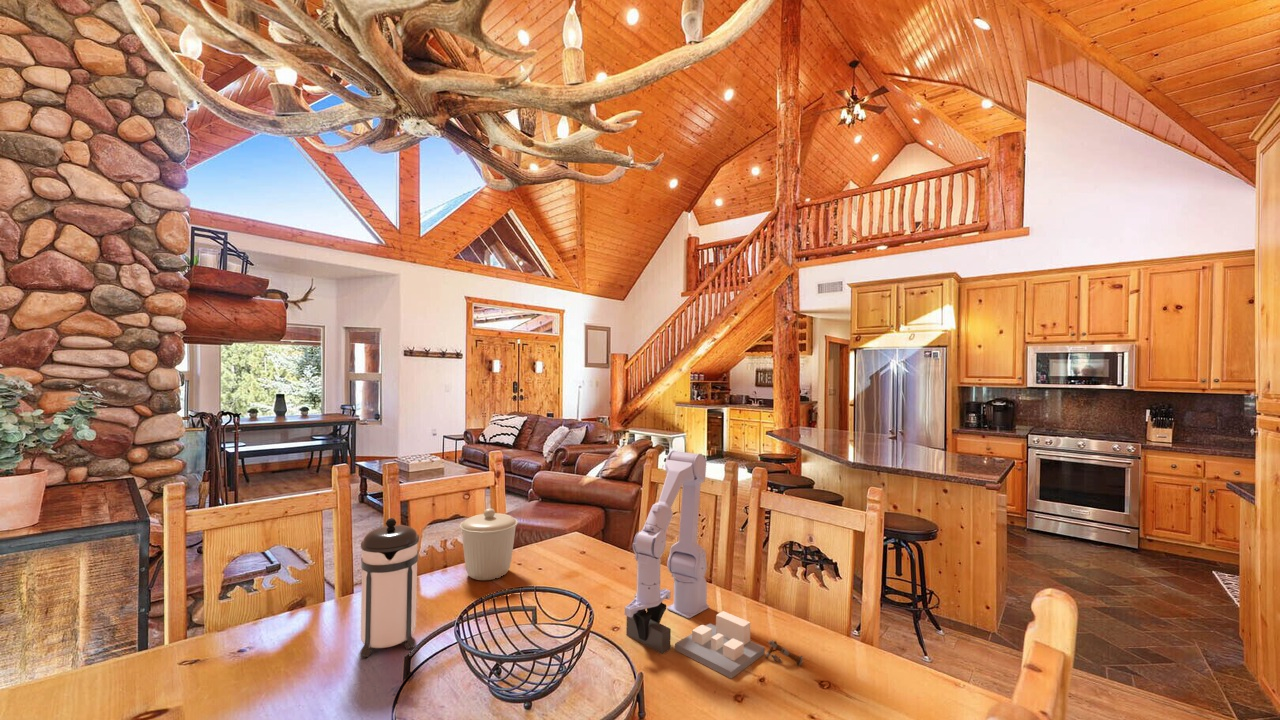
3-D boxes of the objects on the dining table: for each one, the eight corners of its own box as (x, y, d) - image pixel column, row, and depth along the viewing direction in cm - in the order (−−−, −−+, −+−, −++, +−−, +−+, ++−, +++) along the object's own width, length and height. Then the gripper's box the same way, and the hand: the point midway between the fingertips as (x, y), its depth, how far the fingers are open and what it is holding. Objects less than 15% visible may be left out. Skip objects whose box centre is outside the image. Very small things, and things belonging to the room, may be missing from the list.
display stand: (709, 629, 133) (710, 605, 133) (764, 653, 122) (765, 628, 122) (674, 649, 123) (675, 624, 123) (731, 678, 112) (731, 651, 112)
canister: (465, 564, 174) (466, 501, 174) (520, 562, 176) (521, 500, 176) (452, 587, 156) (453, 517, 156) (513, 585, 158) (514, 516, 158)
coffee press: (438, 633, 129) (441, 513, 130) (383, 666, 115) (385, 531, 115) (390, 618, 137) (392, 504, 137) (332, 647, 122) (334, 520, 122)
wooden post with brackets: (762, 652, 121) (770, 636, 121) (794, 671, 119) (802, 655, 119) (761, 656, 119) (770, 640, 119) (794, 676, 118) (803, 659, 117)
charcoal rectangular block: (634, 631, 132) (635, 611, 132) (670, 649, 124) (670, 628, 124) (626, 635, 130) (626, 615, 130) (662, 654, 122) (662, 633, 122)
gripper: (656, 567, 135) (655, 620, 135) (616, 584, 124) (615, 640, 124) (677, 575, 130) (676, 630, 130) (637, 593, 120) (636, 652, 119)
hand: (647, 636), depth 127 cm, fingers closed on charcoal rectangular block, 3 cm apart
